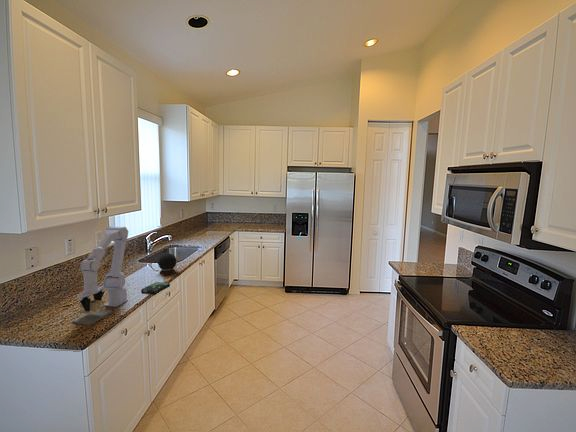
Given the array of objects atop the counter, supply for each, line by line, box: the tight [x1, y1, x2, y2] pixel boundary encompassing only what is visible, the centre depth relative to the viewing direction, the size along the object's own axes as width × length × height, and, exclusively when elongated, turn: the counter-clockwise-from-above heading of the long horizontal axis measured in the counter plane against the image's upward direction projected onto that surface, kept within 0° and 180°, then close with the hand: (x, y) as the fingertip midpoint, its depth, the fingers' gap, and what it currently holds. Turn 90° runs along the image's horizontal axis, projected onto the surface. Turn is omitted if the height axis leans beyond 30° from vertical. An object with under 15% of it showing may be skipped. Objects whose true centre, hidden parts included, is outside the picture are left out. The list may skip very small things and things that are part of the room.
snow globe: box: [157, 252, 178, 276], centre depth 223 cm, size 13×13×15 cm
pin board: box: [72, 309, 113, 326], centre depth 150 cm, size 14×10×5 cm
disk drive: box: [140, 281, 171, 295], centre depth 190 cm, size 10×3×15 cm
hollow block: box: [79, 298, 105, 315], centre depth 149 cm, size 6×9×5 cm, turn 78°
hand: (92, 308), depth 150 cm, fingers closed on hollow block, 6 cm apart
